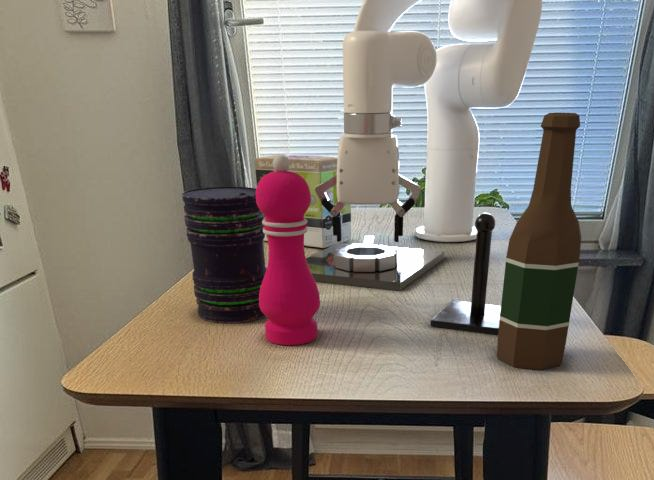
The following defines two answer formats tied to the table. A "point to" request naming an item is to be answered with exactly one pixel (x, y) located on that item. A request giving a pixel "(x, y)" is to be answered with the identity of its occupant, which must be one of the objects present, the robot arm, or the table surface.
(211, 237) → the storage jar
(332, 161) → the tea box
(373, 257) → the octagonal ring with handle
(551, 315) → the beer bottle
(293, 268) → the pepper mill
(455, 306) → the black peg stand
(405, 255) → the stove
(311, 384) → the table surface
